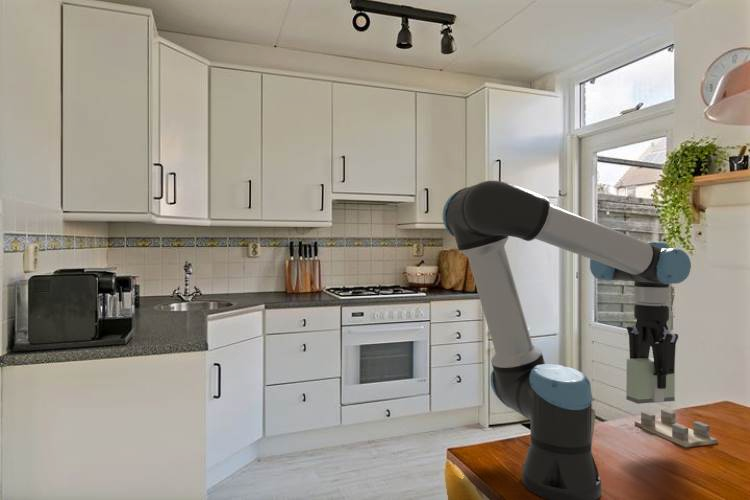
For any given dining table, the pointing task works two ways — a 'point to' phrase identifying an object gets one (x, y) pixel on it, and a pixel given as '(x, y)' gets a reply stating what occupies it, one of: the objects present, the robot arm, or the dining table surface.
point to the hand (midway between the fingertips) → (651, 398)
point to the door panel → (646, 381)
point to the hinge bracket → (676, 429)
